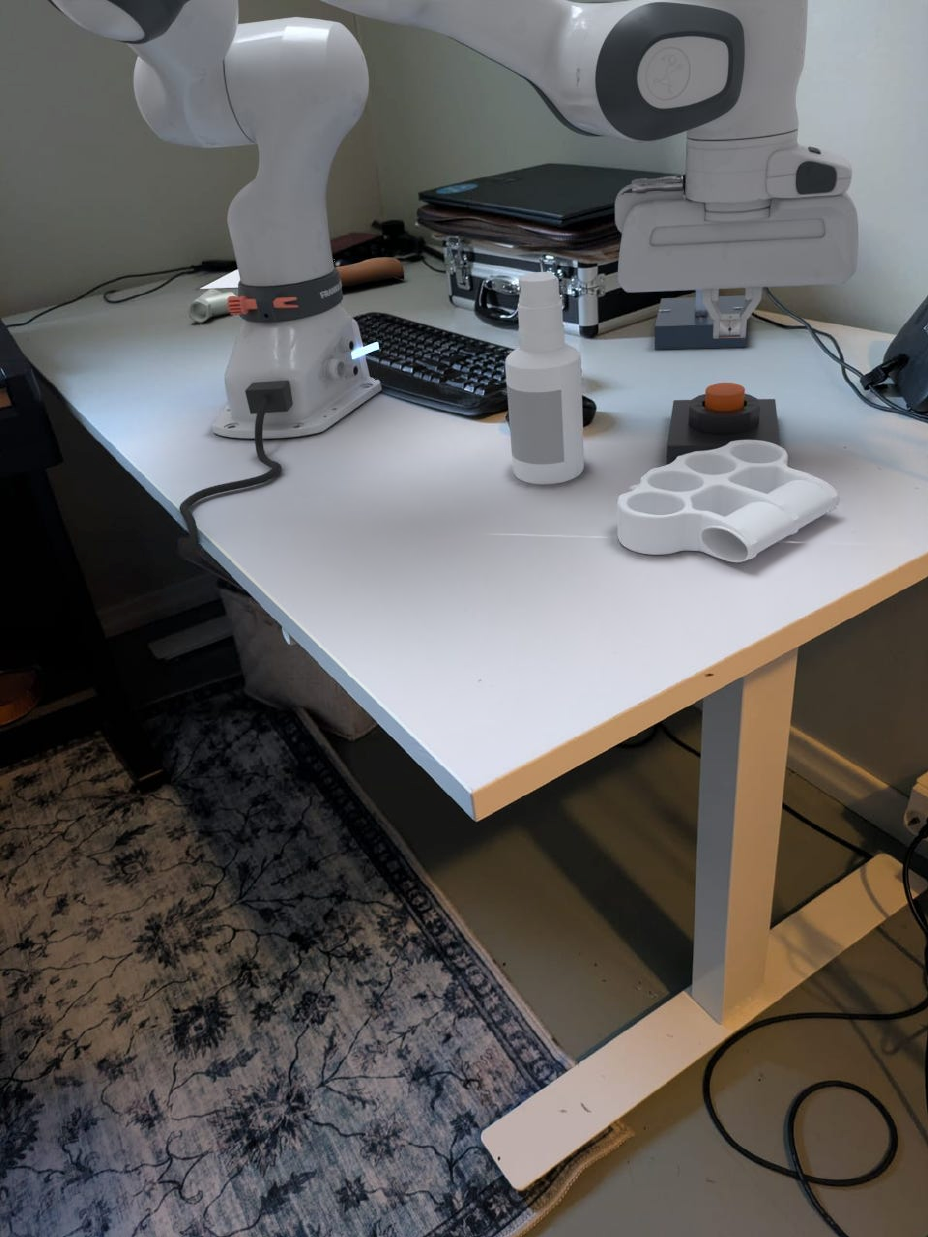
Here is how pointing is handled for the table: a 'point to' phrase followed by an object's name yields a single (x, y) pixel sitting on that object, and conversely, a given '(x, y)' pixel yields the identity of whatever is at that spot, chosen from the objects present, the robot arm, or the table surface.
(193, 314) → the pipe fitting
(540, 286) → the spray bottle
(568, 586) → the table surface
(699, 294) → the upright grey plate
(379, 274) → the sunglasses case
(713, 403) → the release button
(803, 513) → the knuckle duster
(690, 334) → the grey flat block
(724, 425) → the release housing
